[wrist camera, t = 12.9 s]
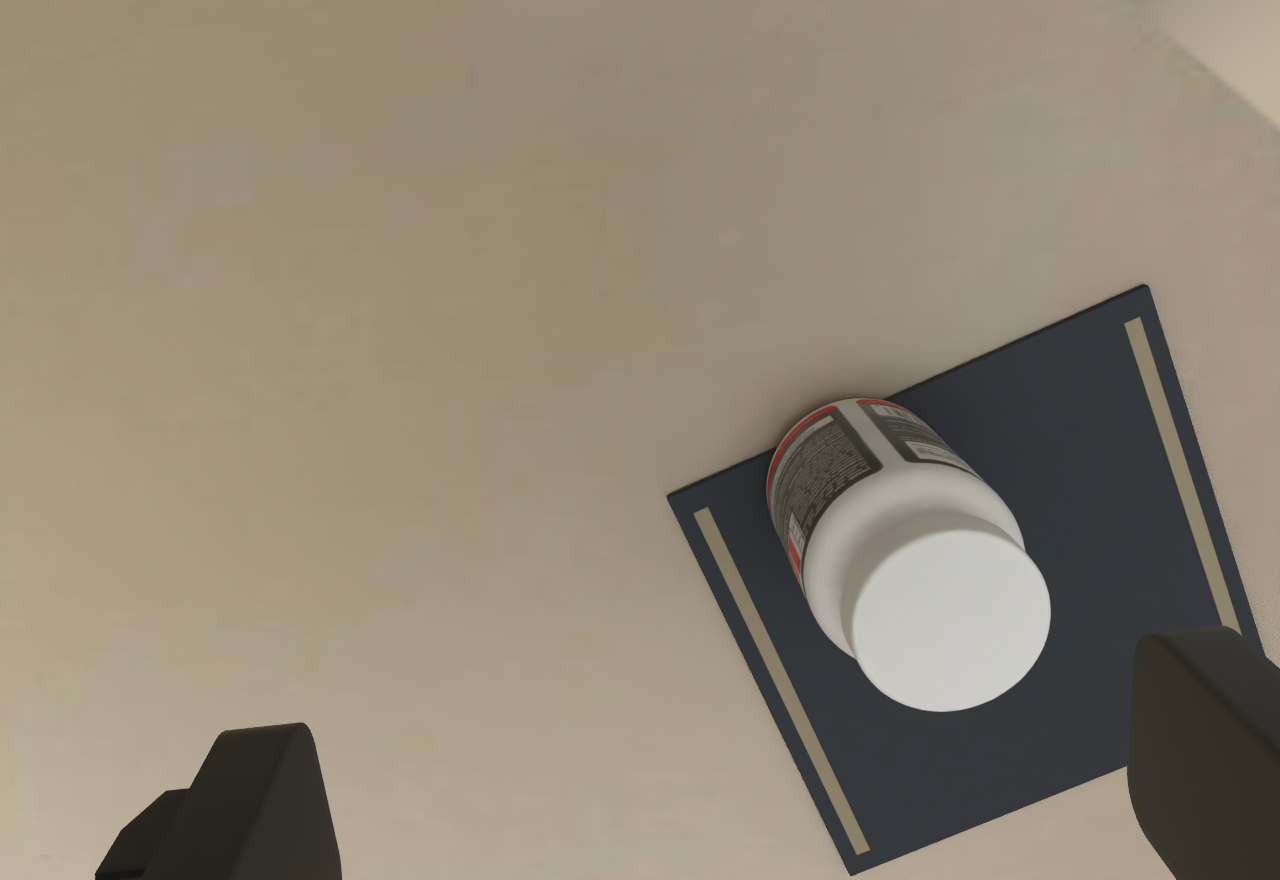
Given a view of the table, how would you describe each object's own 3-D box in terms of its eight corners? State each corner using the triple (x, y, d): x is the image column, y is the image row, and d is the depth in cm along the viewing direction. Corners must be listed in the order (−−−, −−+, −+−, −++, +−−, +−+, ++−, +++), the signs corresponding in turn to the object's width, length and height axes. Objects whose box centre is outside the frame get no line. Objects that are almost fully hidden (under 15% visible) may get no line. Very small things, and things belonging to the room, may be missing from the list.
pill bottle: (788, 583, 36) (856, 760, 26) (743, 423, 34) (798, 551, 25) (959, 534, 35) (1091, 695, 26) (923, 370, 34) (1049, 478, 24)
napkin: (666, 495, 35) (667, 499, 35) (1144, 283, 33) (1149, 285, 33) (849, 871, 40) (850, 877, 39) (1275, 700, 38) (1281, 705, 38)
